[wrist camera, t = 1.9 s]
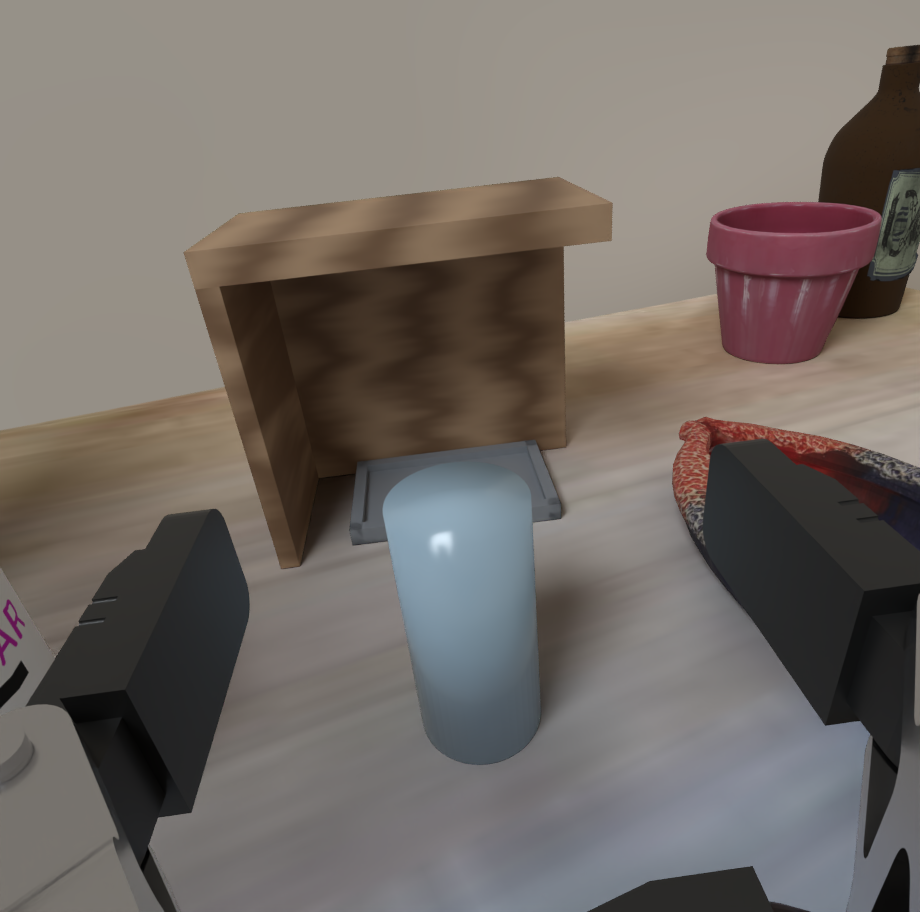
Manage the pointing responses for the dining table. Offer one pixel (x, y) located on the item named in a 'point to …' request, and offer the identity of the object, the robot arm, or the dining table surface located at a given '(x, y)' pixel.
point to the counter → (390, 329)
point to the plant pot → (786, 274)
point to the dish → (858, 469)
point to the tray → (388, 472)
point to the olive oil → (882, 182)
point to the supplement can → (19, 651)
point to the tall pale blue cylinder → (468, 605)
